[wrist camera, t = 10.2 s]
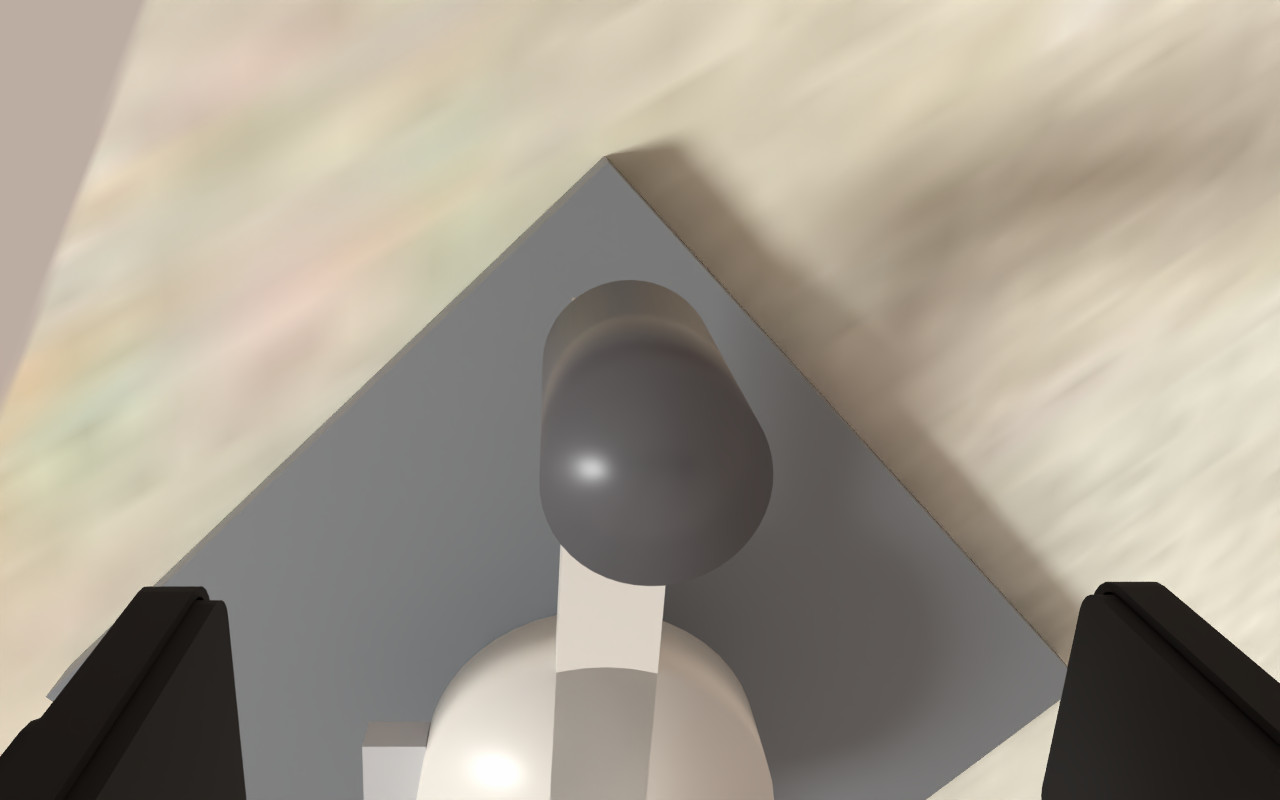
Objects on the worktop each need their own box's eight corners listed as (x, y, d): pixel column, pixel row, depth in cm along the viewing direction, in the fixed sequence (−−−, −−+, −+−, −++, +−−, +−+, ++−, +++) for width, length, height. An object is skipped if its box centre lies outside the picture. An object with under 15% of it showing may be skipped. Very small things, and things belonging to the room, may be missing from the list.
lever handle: (732, 917, 30) (799, 1239, 22) (374, 923, 28) (305, 1265, 20) (818, 265, 23) (960, 383, 15) (356, 241, 22) (244, 354, 14)
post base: (575, 1020, 36) (578, 1132, 33) (69, 665, 30) (-1, 755, 26) (1058, 656, 33) (1124, 735, 29) (604, 155, 26) (613, 174, 22)
